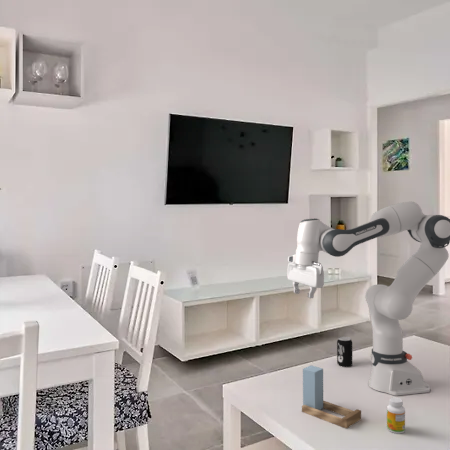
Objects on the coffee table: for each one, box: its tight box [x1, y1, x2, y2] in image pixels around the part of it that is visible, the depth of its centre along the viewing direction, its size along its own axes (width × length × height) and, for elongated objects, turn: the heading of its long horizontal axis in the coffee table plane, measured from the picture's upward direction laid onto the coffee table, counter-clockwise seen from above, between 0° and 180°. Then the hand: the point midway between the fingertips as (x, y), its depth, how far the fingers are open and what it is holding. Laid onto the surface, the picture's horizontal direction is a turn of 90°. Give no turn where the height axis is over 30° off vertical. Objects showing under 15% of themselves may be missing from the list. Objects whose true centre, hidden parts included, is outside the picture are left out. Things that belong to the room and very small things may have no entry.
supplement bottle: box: [386, 396, 406, 435], centre depth 148 cm, size 5×5×10 cm
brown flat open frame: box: [301, 400, 362, 429], centre depth 159 cm, size 18×9×3 cm, turn 44°
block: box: [302, 364, 324, 411], centre depth 164 cm, size 5×5×14 cm
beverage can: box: [336, 336, 353, 368], centre depth 208 cm, size 7×7×12 cm
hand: (303, 295), depth 182 cm, fingers open, 8 cm apart
